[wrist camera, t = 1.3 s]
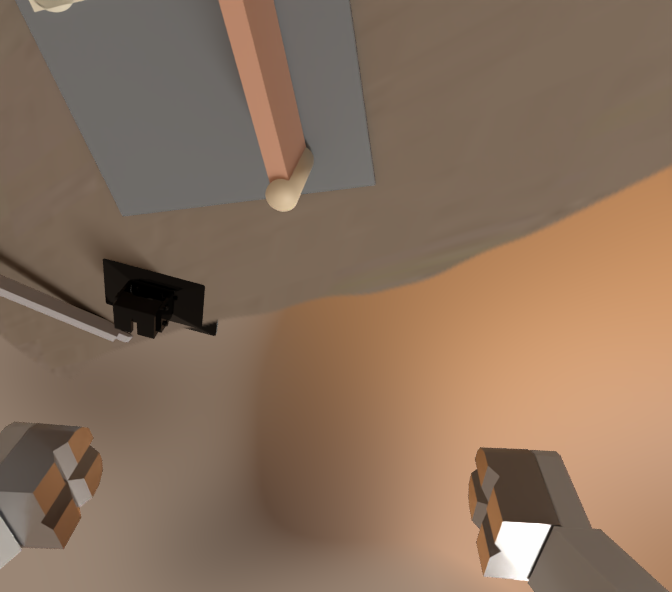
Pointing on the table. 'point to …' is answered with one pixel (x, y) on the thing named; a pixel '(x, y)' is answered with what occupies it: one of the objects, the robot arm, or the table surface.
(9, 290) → the caliper
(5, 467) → the robot arm
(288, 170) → the fence panel
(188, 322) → the black angular piece
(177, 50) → the board
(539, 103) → the table surface
